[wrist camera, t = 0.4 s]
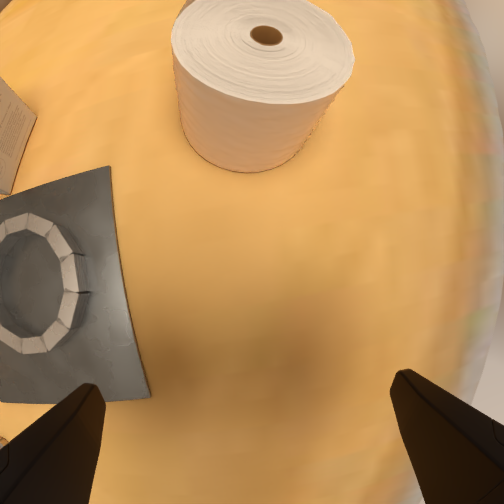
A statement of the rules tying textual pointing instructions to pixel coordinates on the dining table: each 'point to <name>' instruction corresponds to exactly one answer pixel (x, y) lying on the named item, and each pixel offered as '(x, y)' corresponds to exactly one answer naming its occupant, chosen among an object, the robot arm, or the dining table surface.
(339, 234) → the dining table surface
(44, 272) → the ring seat
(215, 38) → the toilet tissue
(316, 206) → the dining table surface
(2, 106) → the small box
